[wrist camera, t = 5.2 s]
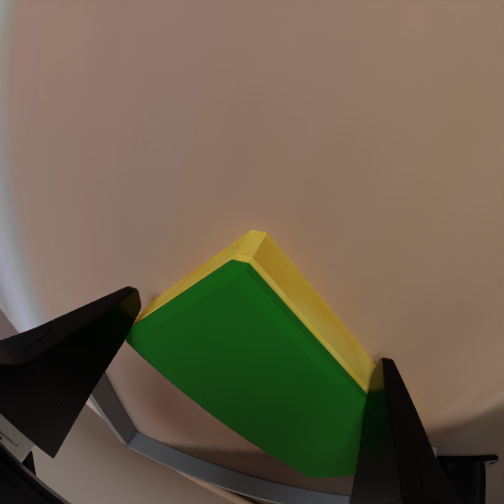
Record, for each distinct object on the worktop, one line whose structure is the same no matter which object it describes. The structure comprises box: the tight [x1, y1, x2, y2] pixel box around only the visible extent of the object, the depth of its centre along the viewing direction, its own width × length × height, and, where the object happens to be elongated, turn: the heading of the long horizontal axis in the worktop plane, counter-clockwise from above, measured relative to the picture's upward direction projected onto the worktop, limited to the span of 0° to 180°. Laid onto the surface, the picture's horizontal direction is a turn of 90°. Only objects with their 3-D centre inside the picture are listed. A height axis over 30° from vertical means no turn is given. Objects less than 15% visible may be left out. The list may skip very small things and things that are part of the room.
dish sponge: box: [126, 230, 424, 478], centre depth 12 cm, size 7×14×2 cm, turn 42°
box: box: [89, 373, 436, 504], centre depth 19 cm, size 24×15×2 cm, turn 85°
